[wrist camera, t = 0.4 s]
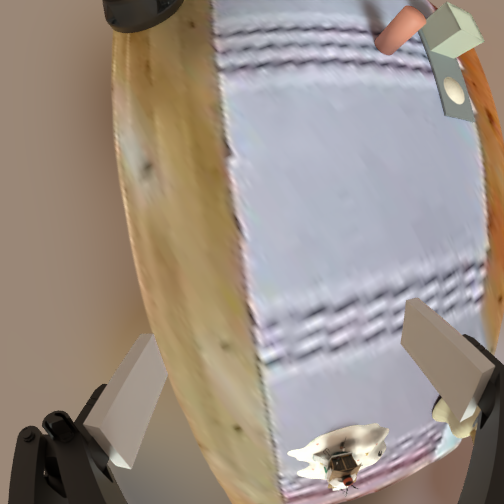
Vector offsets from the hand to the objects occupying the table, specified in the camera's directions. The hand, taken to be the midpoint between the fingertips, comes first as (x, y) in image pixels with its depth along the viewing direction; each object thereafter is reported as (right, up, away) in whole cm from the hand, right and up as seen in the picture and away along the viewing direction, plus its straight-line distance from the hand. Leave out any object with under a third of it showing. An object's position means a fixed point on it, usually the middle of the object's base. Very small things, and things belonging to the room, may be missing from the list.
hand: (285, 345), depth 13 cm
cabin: (+18, -44, +37) cm, 61 cm away
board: (+37, +42, +21) cm, 60 cm away
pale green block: (+36, +48, +19) cm, 63 cm away
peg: (+22, +41, +21) cm, 51 cm away
